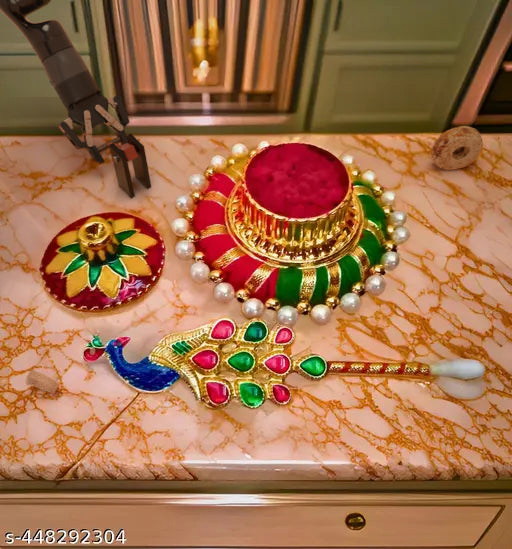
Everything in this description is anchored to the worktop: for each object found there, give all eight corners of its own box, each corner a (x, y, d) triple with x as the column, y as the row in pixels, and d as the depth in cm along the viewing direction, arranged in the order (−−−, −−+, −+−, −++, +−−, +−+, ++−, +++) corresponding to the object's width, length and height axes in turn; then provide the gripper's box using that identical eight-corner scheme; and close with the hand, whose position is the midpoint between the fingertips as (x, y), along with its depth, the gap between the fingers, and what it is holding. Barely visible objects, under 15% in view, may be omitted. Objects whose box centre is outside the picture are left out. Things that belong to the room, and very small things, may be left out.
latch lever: (98, 156, 117) (93, 145, 115) (121, 143, 119) (116, 133, 117) (121, 166, 109) (116, 154, 107) (145, 152, 111) (140, 141, 109)
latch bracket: (104, 184, 120) (92, 138, 109) (136, 166, 123) (127, 120, 112) (135, 216, 116) (125, 172, 105) (167, 197, 119) (161, 152, 108)
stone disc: (429, 173, 125) (443, 139, 116) (424, 161, 127) (438, 126, 118) (475, 169, 126) (492, 136, 117) (469, 157, 128) (486, 123, 119)
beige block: (38, 376, 97) (29, 364, 92) (64, 385, 96) (56, 374, 92) (30, 390, 95) (20, 379, 91) (55, 400, 94) (47, 389, 90)
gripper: (40, 89, 106) (89, 171, 111) (107, 58, 111) (150, 138, 117) (34, 96, 113) (80, 174, 118) (97, 67, 118) (138, 142, 123)
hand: (115, 156), depth 117 cm, fingers closed on latch lever, 5 cm apart
